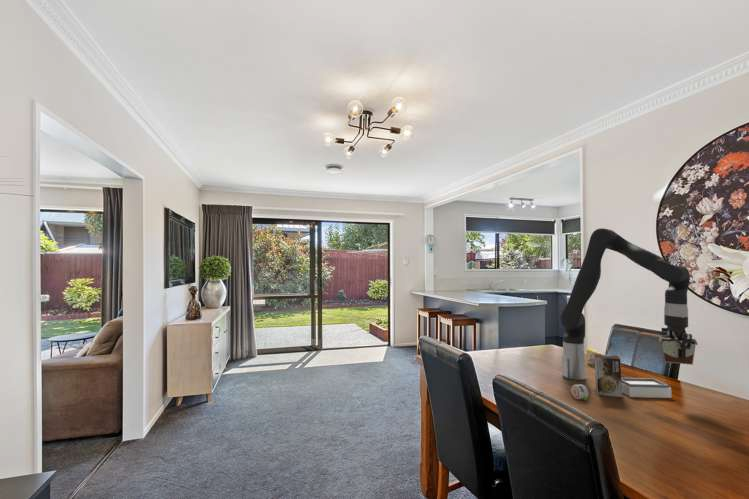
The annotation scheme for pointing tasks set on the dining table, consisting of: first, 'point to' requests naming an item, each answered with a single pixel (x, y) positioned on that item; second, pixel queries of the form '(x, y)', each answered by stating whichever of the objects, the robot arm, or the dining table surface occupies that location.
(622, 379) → the base
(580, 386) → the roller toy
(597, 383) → the coffee box
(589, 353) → the candy box
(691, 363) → the food container
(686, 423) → the dining table surface
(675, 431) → the dining table surface
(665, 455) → the dining table surface
